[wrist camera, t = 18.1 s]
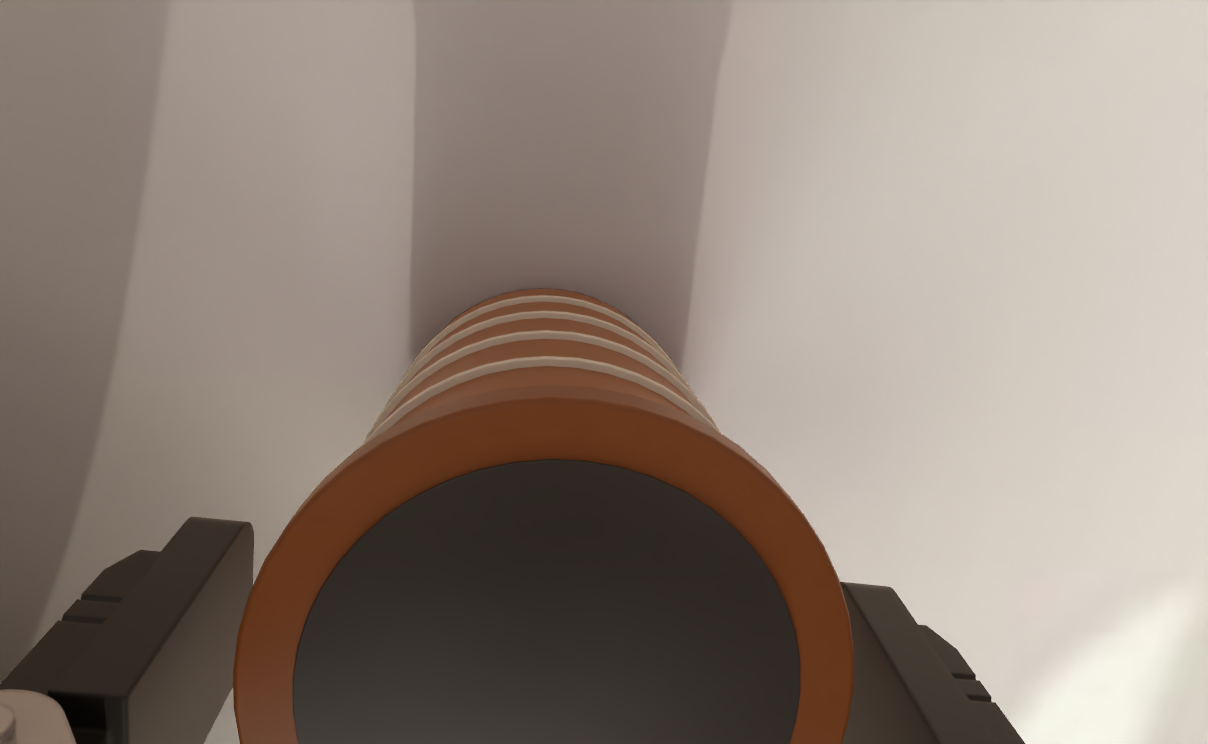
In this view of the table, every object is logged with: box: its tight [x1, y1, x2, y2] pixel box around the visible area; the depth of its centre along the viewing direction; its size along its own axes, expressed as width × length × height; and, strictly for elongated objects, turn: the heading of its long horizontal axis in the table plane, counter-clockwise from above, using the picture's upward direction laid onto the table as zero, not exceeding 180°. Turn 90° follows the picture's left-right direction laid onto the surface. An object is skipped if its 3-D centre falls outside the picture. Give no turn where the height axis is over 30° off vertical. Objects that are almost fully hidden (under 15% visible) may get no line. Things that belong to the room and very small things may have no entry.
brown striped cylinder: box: [233, 288, 854, 744], centre depth 14 cm, size 10×6×6 cm
